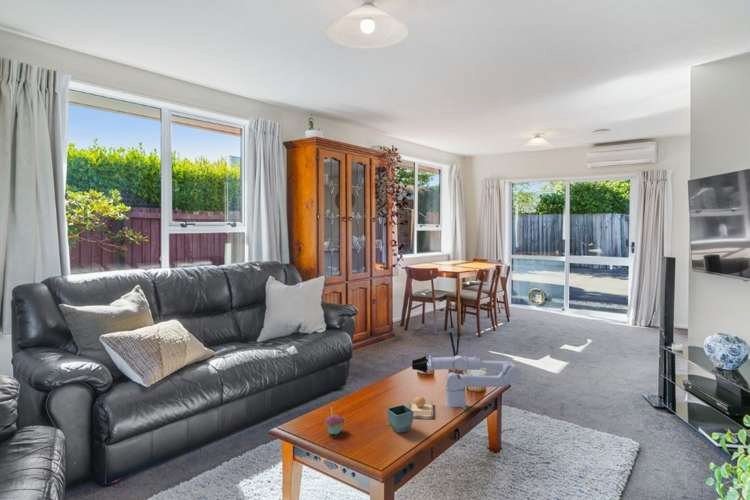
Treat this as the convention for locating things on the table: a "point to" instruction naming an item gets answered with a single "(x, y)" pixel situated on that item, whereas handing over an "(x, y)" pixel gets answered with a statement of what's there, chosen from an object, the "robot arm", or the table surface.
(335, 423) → the cupcake
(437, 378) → the table surface
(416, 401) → the ball
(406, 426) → the flower pot
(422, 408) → the lane
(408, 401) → the rails
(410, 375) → the table surface
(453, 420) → the table surface
